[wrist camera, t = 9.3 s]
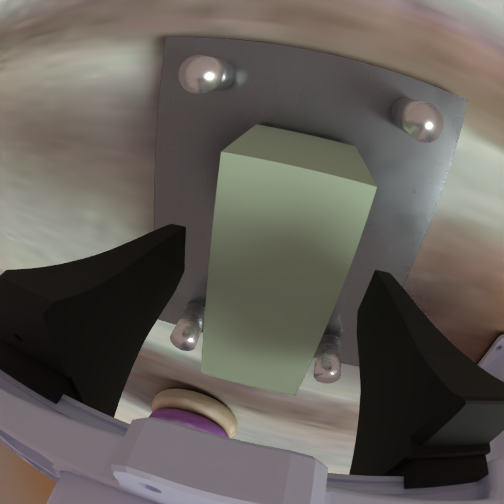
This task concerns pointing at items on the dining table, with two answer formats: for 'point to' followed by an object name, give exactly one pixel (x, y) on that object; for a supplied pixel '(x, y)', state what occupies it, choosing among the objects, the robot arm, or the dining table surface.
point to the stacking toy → (194, 411)
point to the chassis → (307, 122)
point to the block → (279, 253)
